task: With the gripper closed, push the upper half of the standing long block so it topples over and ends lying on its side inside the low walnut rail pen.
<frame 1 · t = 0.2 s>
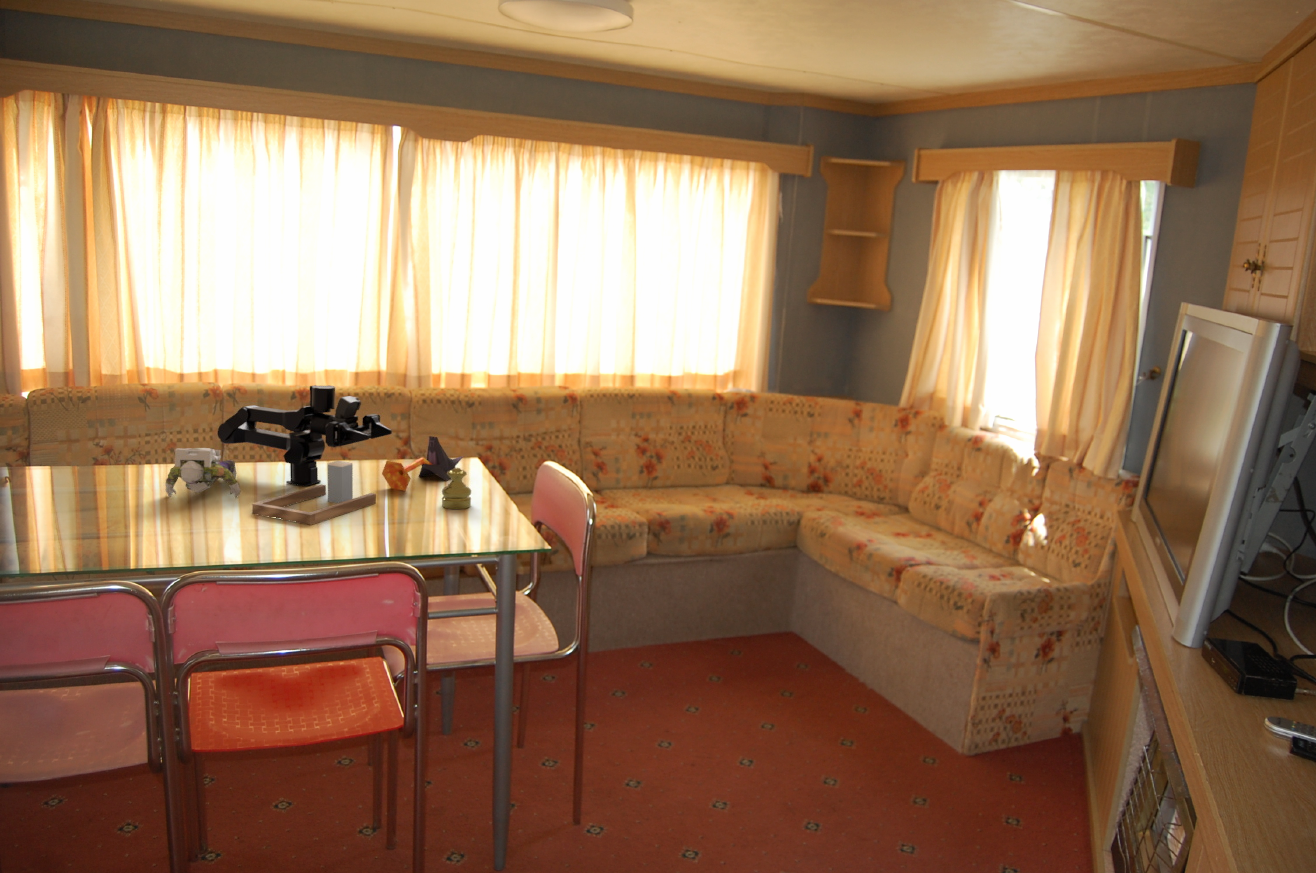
hand: (380, 434, 240), 17 cm above the table, tool horizontal, fingers open, 9 cm apart
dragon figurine: (423, 482, 261), on the table
long block: (340, 501, 236), on the table
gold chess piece: (456, 506, 238), on the table
toy: (207, 494, 236), on the table
rail pen: (318, 507, 229), on the table
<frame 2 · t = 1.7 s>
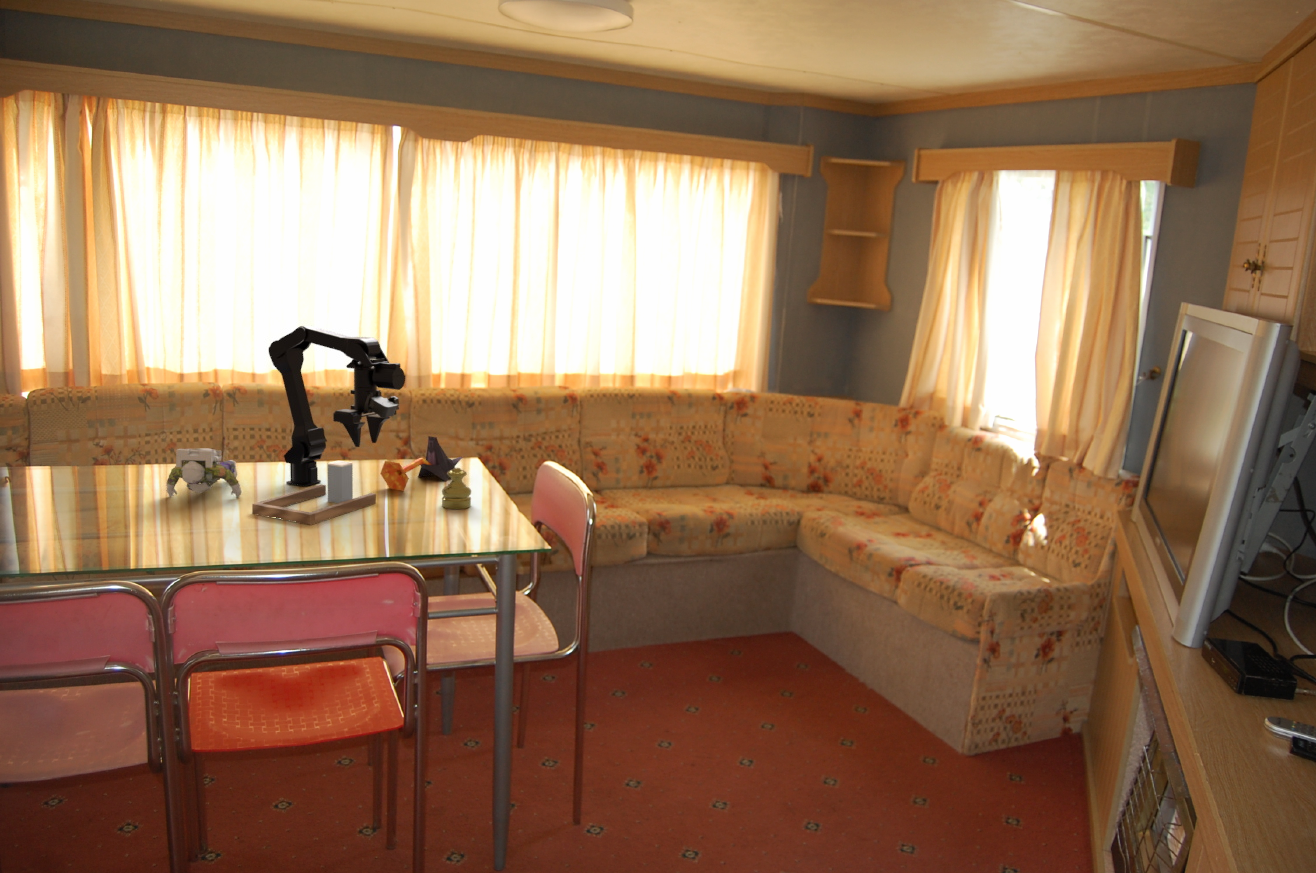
hand: (365, 444, 243), 13 cm above the table, tool pointing down, fingers open, 6 cm apart
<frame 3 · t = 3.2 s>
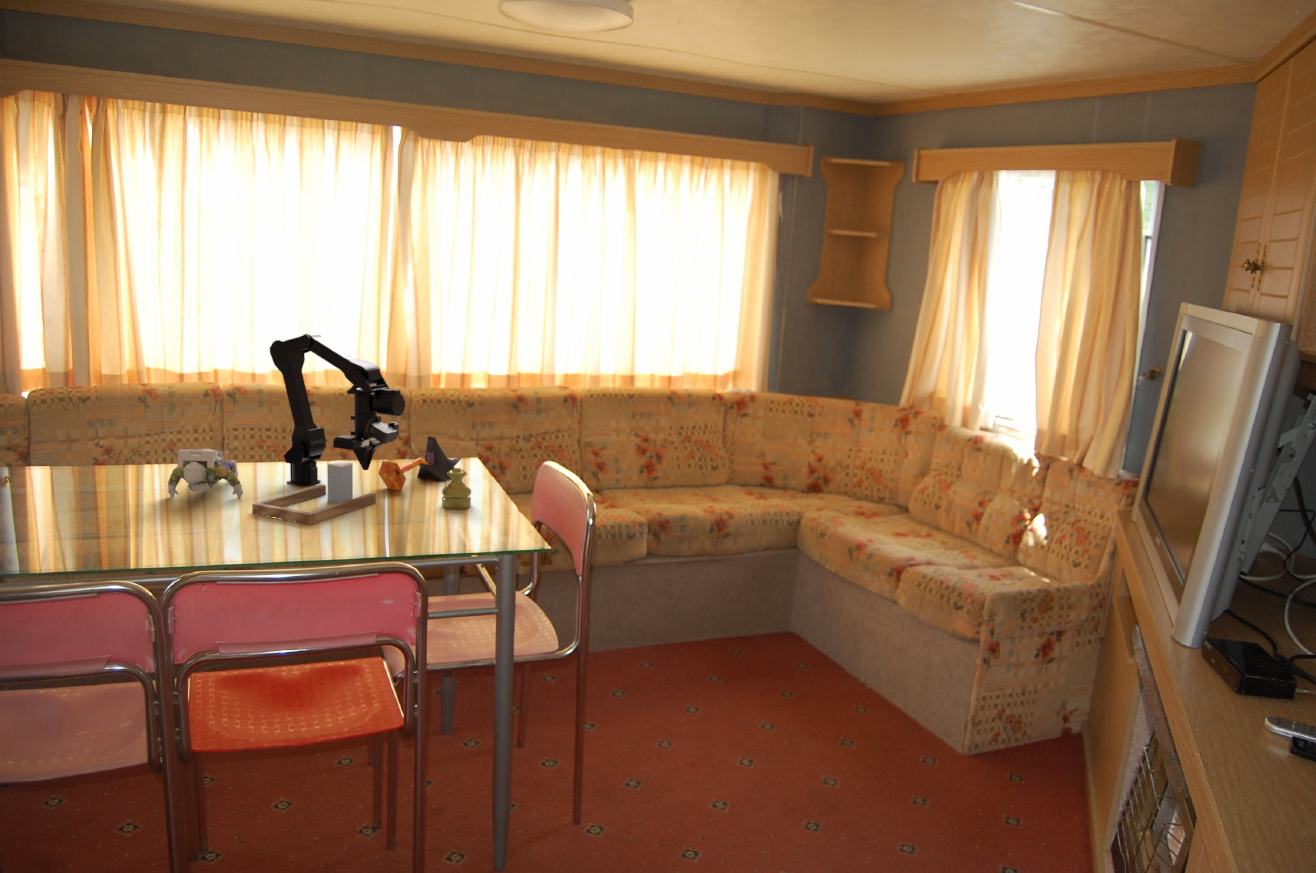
hand: (365, 469, 244), 6 cm above the table, tool pointing down, fingers closed
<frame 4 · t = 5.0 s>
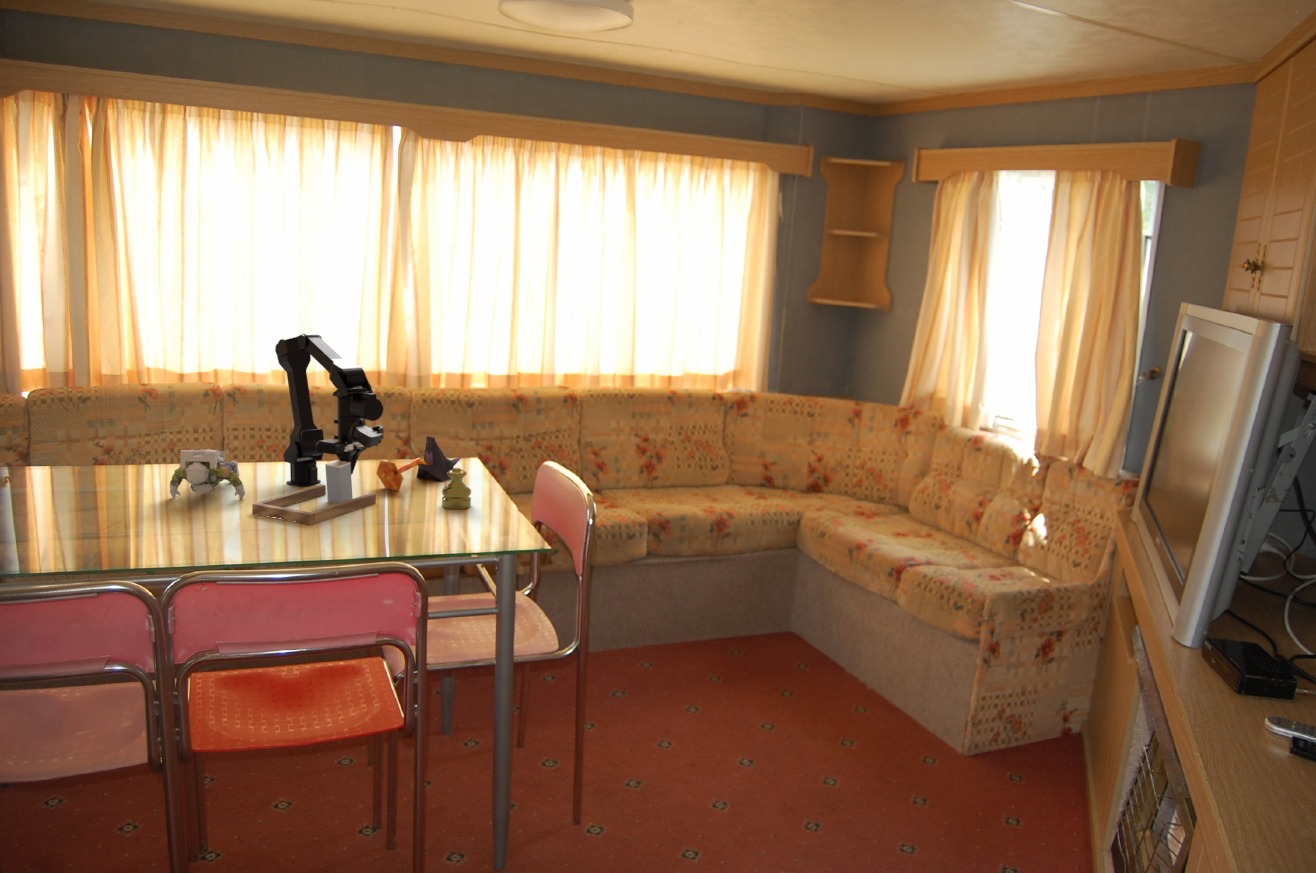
hand: (349, 474, 238), 6 cm above the table, tool pointing down, fingers closed
long block: (340, 500, 236), on the table, touching gripper
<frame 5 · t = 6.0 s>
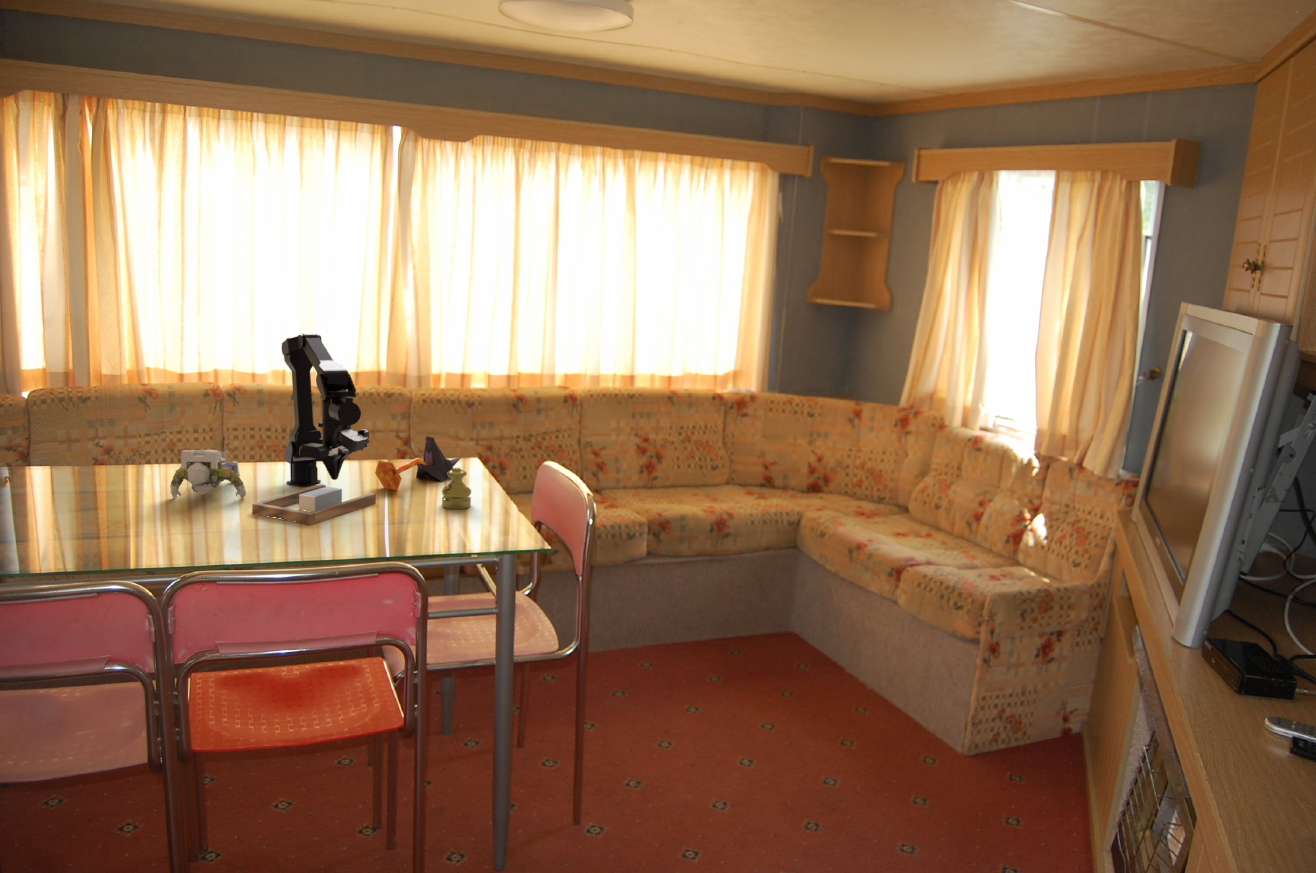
hand: (334, 479, 233), 6 cm above the table, tool pointing down, fingers closed
long block: (334, 495, 234), point 2 cm above the table, tilted 90°
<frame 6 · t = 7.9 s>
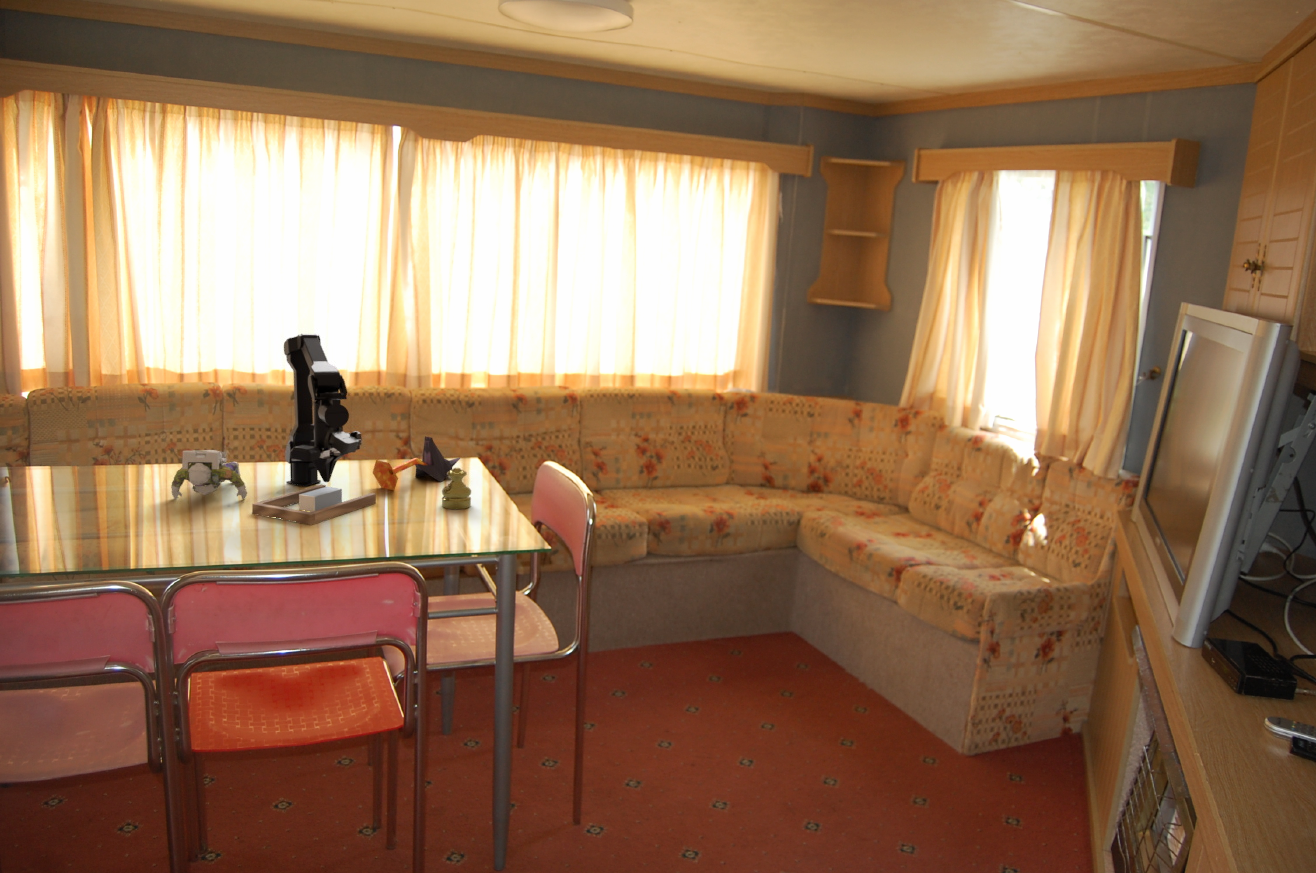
hand: (326, 481, 231), 6 cm above the table, tool pointing down, fingers closed
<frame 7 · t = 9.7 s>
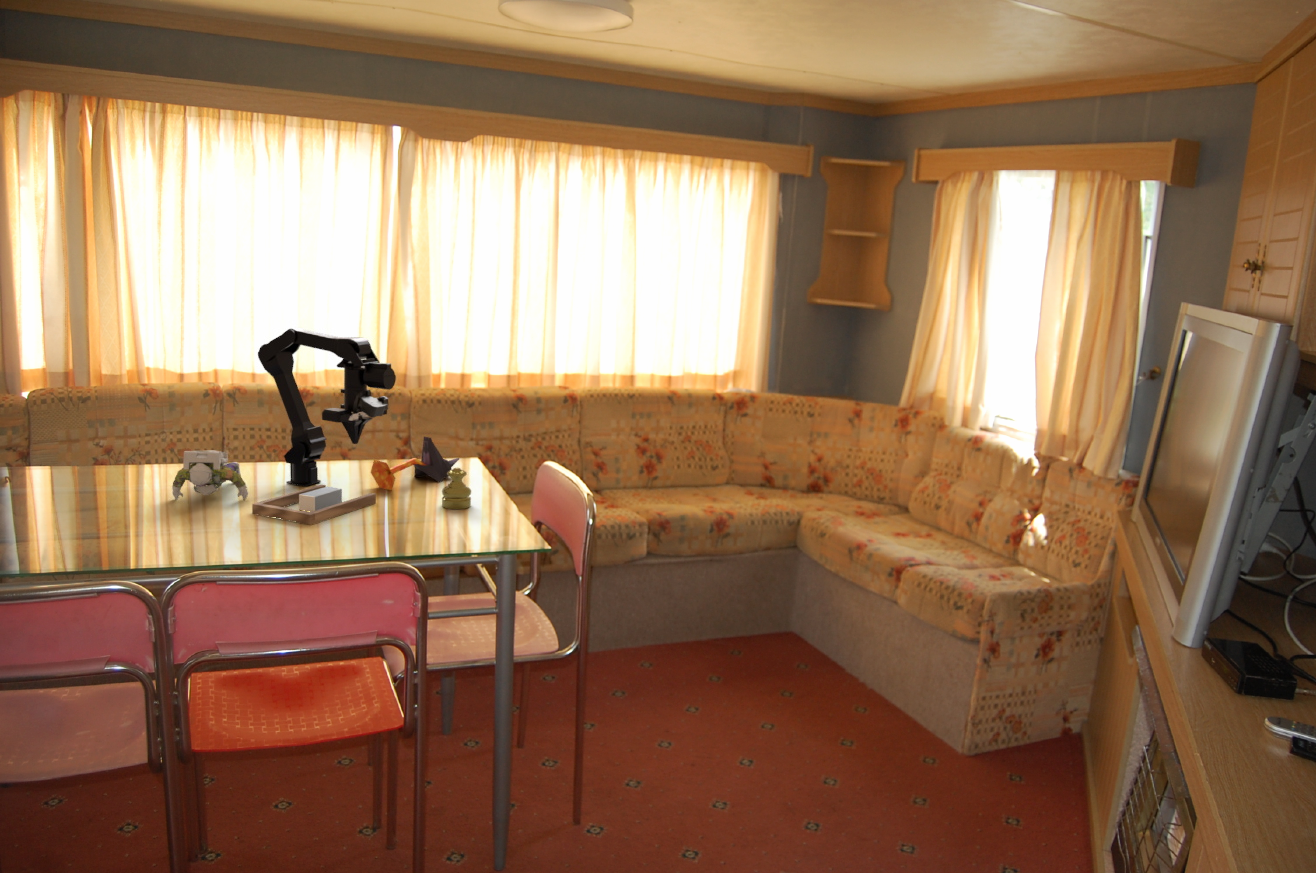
hand: (355, 443, 245), 13 cm above the table, tool pointing down, fingers closed
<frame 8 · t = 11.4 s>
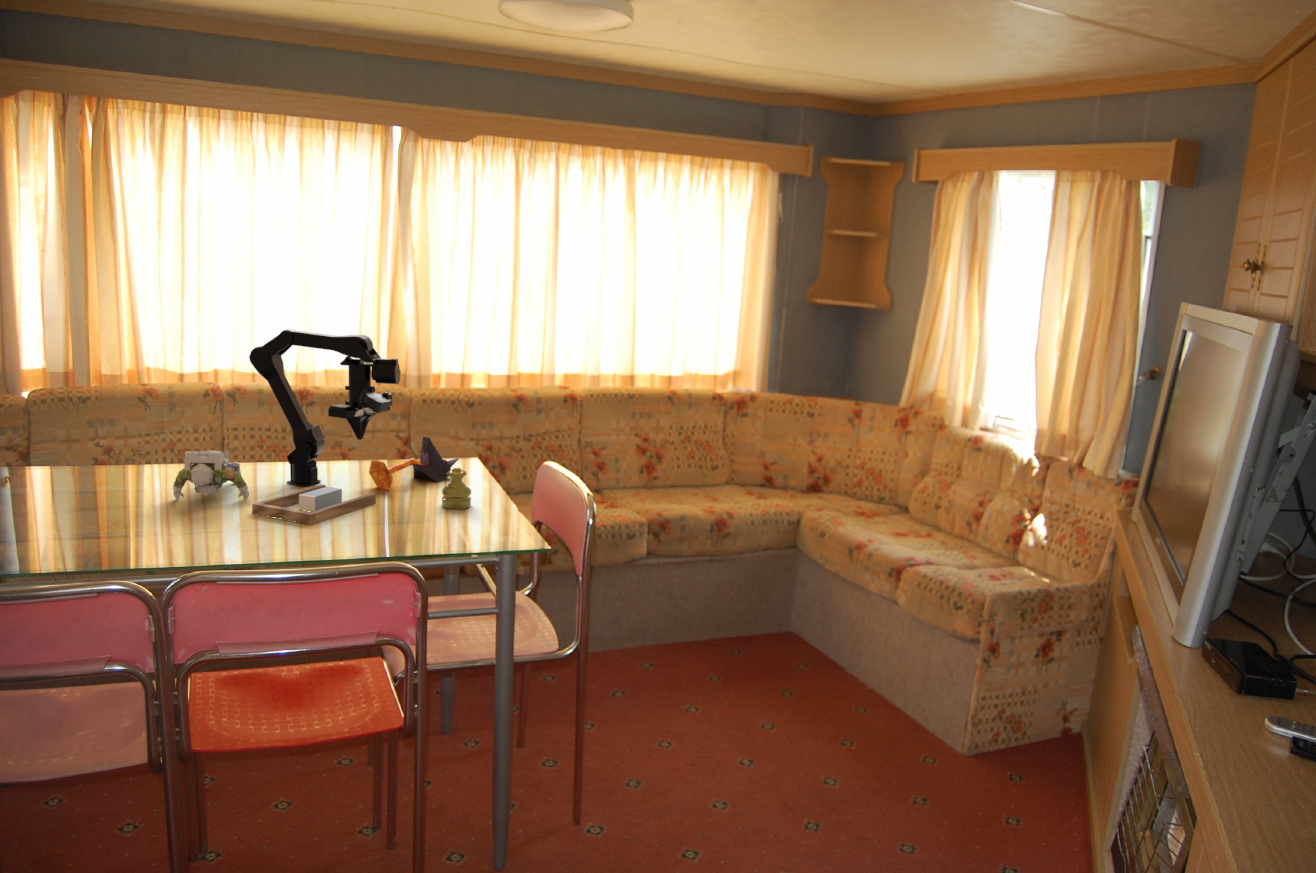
hand: (359, 439, 250), 13 cm above the table, tool pointing down, fingers closed
at the end: long block tilted 90°; long block inside the target area (7.4 cm from its centre), point 1.9 cm above the table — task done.
